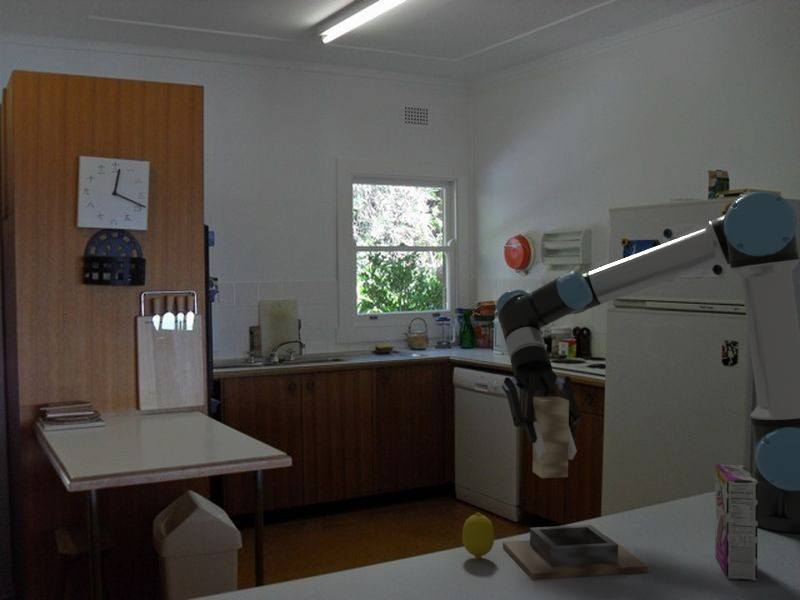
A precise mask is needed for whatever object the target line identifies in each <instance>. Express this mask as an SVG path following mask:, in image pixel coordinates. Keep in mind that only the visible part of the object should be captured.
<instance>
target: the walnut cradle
mask: <svg viewBox="0 0 800 600" xmlns="http://www.w3.org/2000/svg"><path fill="white" fill-rule="evenodd" d="M502 548H503V549H504V550H505V551H506V552H507V553H508V555H509V556H512V557H513V558H514V559H515V560H516V561H517V562H516V561H515V560H514V559H513V558H512V557H511V558H512V559H513V560H514V561H515V562H516V564H518V565H519V566H520V568H521V569H522V568H523V569H524V570H525V571H524V570H523V569H522V570H523V571H524V572H525V573H526V575H528V576H529V578H531V579H532V580H533V581H534V580H547V579H561V578H563V579H564V578H576V577H579V578H580V577H594V576H595V577H596V576H607V575H608V576H609V575H624V574H641V573H649V565H647V564H646V563H645V562H643V561H642V560H641V559H639V557H637V556H636V555H634V554H633V553H632V552H630V551H629V550H627V549H626V548H625V547H623V546H622V545H620V544H619V543H618V542H617V541H615V540H614V539H612V538H611V537H610V536H608V535H605V534H604V533H602V532H601V531H600V530H598V529H597V528H596V527H594V525H591V524H578V525H560V526H557V525H556V526H542V527H541V526H537V527H530V528H529V539H527V540H525V539H524V540H512V541H511V540H509V541H502Z"/></svg>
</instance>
